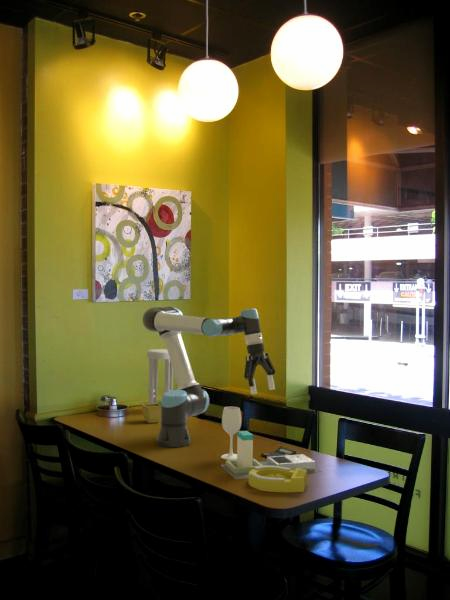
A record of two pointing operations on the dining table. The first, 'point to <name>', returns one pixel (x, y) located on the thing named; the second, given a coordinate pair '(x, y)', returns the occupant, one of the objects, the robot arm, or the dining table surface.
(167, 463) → the dining table surface
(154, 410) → the flower pot
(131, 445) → the dining table surface
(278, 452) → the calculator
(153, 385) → the stool
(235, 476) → the mat
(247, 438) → the cream green box
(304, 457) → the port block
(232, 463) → the grey square tray
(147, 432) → the dining table surface
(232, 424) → the wineglass
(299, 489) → the ashtray
